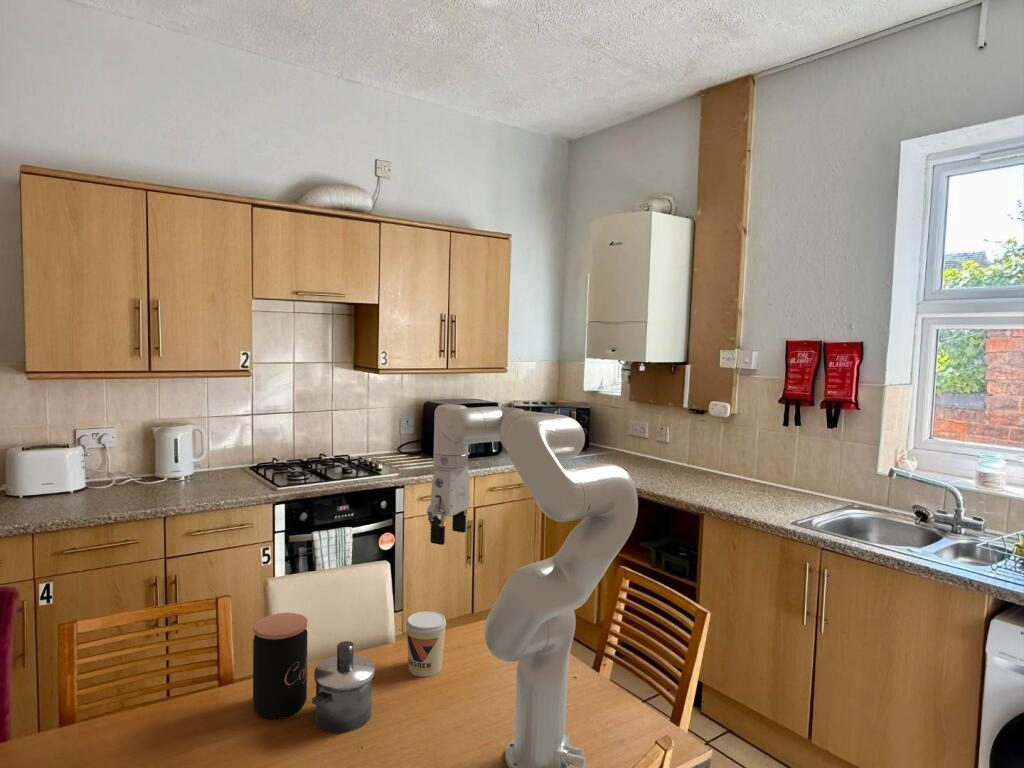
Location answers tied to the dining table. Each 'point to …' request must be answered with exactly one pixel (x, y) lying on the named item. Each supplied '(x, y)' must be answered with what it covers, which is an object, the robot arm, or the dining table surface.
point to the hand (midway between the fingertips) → (448, 537)
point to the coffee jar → (279, 665)
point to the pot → (343, 708)
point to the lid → (344, 669)
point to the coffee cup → (425, 642)
